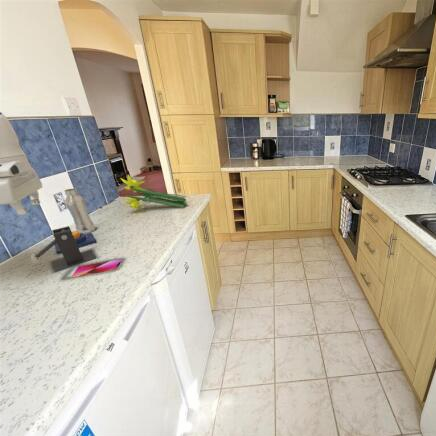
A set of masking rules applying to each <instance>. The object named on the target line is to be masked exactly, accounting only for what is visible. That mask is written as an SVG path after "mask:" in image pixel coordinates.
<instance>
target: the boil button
mask: <svg viewBox="0 0 436 436" xmlns="http://www.w3.org/2000/svg"><path fill="white" fill-rule="evenodd" d="M71 232H72V234H73V236H74V239H77V238H79V237H81V236H80V233H79V231H76V230H73V231H71Z"/></svg>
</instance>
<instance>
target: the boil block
mask: <svg viewBox="0 0 436 436" xmlns="http://www.w3.org/2000/svg"><path fill="white" fill-rule="evenodd" d="M80 236H81V237H79V238H77V239H75V241H76V243H77V246H78V248H79V249H81V248H83V247H88V246H90V245H93V244H94V245H95V244H97V242H98V241H97V239H96V238H95V236H94V234H93V233H92V232H89V233H80ZM54 249H55V252H56V255H60V254H62V252H61V250H60V248H59V246H58V244H57V243H56V244H55V245H54Z"/></svg>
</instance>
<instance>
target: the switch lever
mask: <svg viewBox="0 0 436 436" xmlns="http://www.w3.org/2000/svg"><path fill="white" fill-rule="evenodd" d="M62 231H66V230H64V229H63V230H61V231H60V232H62ZM56 243H57V242H56V240H55V239H53V240H52V241H51V242H50V243H48V244H47V245H46V246H45V247H44V248H43V249H41V250H40V251H38V252H37V253H32V254H31V263H32V264H38V263H39V258H41V257H42V256H43V255H45V253H47V252H48V251H49V250H50V249H52V248H53V247H55V244H56Z"/></svg>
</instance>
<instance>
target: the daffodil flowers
mask: <svg viewBox="0 0 436 436" xmlns="http://www.w3.org/2000/svg"><path fill="white" fill-rule="evenodd" d="M126 178H127V180H126V179H124V178H122V177H120V178H119V179H120V180H121V181H122V182H123V183H124V184H125V185H126V186H125V188H124V189H125V190H132V191H133V193H131V194H124V196H125V197H123V199H125V200H128V201H126V202H124V205H129V207H130V209H131V208H132V209H139V206H140V207H141V208H143V205H146V204H148V203H154V204H159V205H164V206H170V207H175V208H181V209H185V206H186V201H187V199H186V198H187V196H186V195H181V194H173V193H168V192H167V193H166V192H160V191H156V190H153V189H151V188H149V187H147V186H146V185H145V184H143V183H145V182H146V180H141V181H137V180H136V179H132V177H131V176H130V175H129V174H127V177H126ZM141 185H142V187H140V186H141ZM134 194H138V195H141V196H142V197H140V196H134ZM141 204H142V205H141Z"/></svg>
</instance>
